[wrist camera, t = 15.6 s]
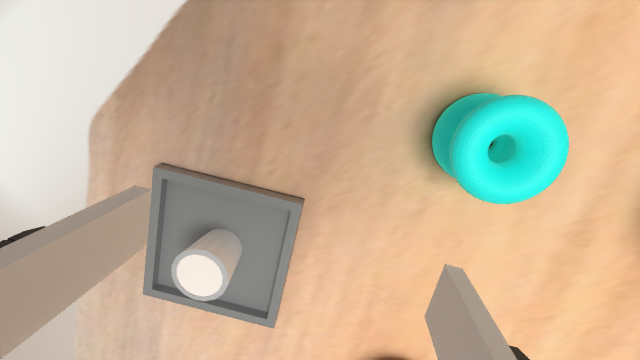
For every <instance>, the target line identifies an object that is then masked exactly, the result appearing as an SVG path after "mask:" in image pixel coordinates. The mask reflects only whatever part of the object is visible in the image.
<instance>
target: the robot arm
mask: <svg viewBox="0 0 640 360" xmlns="http://www.w3.org/2000/svg"><path fill="white" fill-rule="evenodd" d="M151 193H152V190H151V189H147V188H143V187H139V186H133V187H131V188H129V189H127V190H124V191H122V192H120V193H118V194H116V195H114V196H112V197H109V198H107V199H105V200H103V201H101V202H99V203H97V204H94V205H92V206H90V207H88V208H86V209H84V210H82V211H79V212H77V213H75V214H73V215H71V216H69V217H67V218H65V219H62V220H60V221H58V222H56V223H54V224H51V225H49V226H47V227H45V226H43V227H39V228H35V229H31V230H27V231H23V232H21V233H19V234H17V235H14V236H12V237H10V238H8V239H7V240H3V241H1V242H0V359H2V358H3V357H4V356H5V355H7V354H8V353H9V352H11V351H12V350H13V349H15V348H16V347H17V346H18V345H20V344H21V343H22V342H23V341H25V340H26V339H27V338H29V337H30V336H31V335H32V334H34V333H35V332H36V331H38V330H39V329H40V328H41V327H43V326H44V325H45V324H46V323H48V322H49V321H50V320H51V319H53V318H54V317H55V316H57V315H58V314H59V313H61V312H62V311H63V310H64V309H66V308H67V307H68V306H69V305H71V304H72V303H73V302H75V301H76V300H77V299H78V298H80V297H81V296H82V295H84V294H85V293H86V292H87V291H89V290H90V289H91V288H93V287H94V286H95V285H96V284H98V283H99V282H100V281H101V280H103V279H104V278H105V277H107V276H108V275H109V274H110V273H112V272H113V271H114V270H116V269H117V268H118V267H119V266H121V265H122V264H123V263H124V262H126V261H127V260H128V259H130V258H131V257H132V256H133V255H135V254H136V253H137V252H139V251H140V250H141V249H142V248H144V247H145V246H146V245H147V241H148V229H149V217H150V205H151ZM425 319H426V323H427V326H428V329H429V332H430V335H431V338H432V342H433V345H434V348H435V351H436V354H437V358H438V360H530V359H529V358H528V357H527V356H526V355H525V354H524V353H522V352H521V351H520V350H519V349H518V348H517V347H513V346H509V345H508V344H507V342H506V340H505V339H504V337H503V335H502V334H501V332H500V330H499V329H498V327H497V325H496V324H495V322H494V320H493V319H492V317H491V315H490V314H489V312H488V310H487V309H486V307H485V305H484V304H483V302H482V300H481V299H480V297H479V295H478V294H477V292H476V290H475V289H474V287H473V285H472V284H471V282H470V280H469V279H468V277H467V275H466V274H465V272H464V270H463V269H462V268H458V267H454V266H450V265H446V264H445V266H444V268H443V271H442V273H441V276H440V278H439V281H438V283H437V286H436V288H435V291H434V294H433V296H432V299H431V301H430V304H429V306H428V309H427V311H426V314H425Z"/></svg>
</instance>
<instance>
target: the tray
mask: <svg viewBox="0 0 640 360" xmlns="http://www.w3.org/2000/svg"><path fill="white" fill-rule="evenodd" d="M304 200H305V199H303V198H299V197H295V196H291V195H287V194H283V193H279V192H275V191H271V190H267V189H263V188H259V187H255V186H251V185H247V184H243V183H239V182H235V181H231V180H227V179H223V178H219V177H215V176H211V175H207V174H203V173H199V172H195V171H192V170H188V169H184V168H180V167H176V166H172V165H168V164H164V163H162V164H159V165H157V166H154V168H153V180H152V193H151V205H150V217H149V229H148V241H147V252H146V264H145V276H144V288H143V294H144V295H148V296H152V297H155V298H159V299H163V300H167V301H171V302H174V303H178V304H182V305H186V306H190V307H194V308H197V309H201V310H205V311H209V312H213V313H216V314H220V315H224V316H228V317H232V318H236V319H239V320H243V321H247V322H251V323H255V324H258V325H262V326H266V327H270V328H274V326H275V323H276V320H277V316H278V312H279V307H280V303H281V299H282V294H283V290H284V286H285V282H286V277H287V273H288V269H289V264H290V260H291V256H292V251H293V247H294V243H295V238H296V234H297V230H298V226H299V221H300V217H301V213H302V208H303V204H304ZM214 229H226V230H228V231H230V232H232V233H234V234H235V235H236V236H237V238H238V239H239V240H240V242H241V245H242V255H241V257H240V259H239V262H238V264H237V266H236V268H235V270H234V273H233V275H232V277H231V279H230V282H229V284H228V286H227V288H226V289H225V291H224V293H223V294H222V295H221V296H219V297H218V298H216V299H214V300H209V301H200V300H194V299H192V298H190V297H188V296H186V295H184V294H183V293H182V292H181V291H180V290H179V289H178V288H177V287H176V285H175V283H174V281H173V278H172V268H171V266H172V264H173V262H174V260H175V258H176V257H177V256H178V255H179V254H181V253H182V252H183V251H185V250H186V249H187V248H188V247H190V246H191V245H192V244H194V243H195V242H196V241H198V240H199V239H200V238H202V237H203V236H204V235H206V234H207V233H208V232H210V231H211V230H214Z"/></svg>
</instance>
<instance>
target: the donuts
mask: <svg viewBox="0 0 640 360" xmlns="http://www.w3.org/2000/svg"><path fill="white" fill-rule="evenodd" d="M493 140H494V142H493V144H492V146H491V147H490V148H489V146H490V144H491V142H492V141H493ZM432 148H433V153H434V156H435V159H436V161H437V162H438V164H439V165H440V167H441V168H442V169H443V170H444V171H445V172H446V173H447V174H449V175H450V176H452V177H453V178H456V180H457V182H458V183H459V184H460V186H461V187H462V188H463V189H464V190H465V191H467V192H468V193H469V194H471V195H472V196H474V197H475V198H478V199H480V200H482V201H486V202H490V203H495V204H511V203H517V202H521V201H524V200H527V199H529V198H532V197H534V196H535V195H537V194H539V193H541V192H542V191H543V190H545V189H546V188H547V187H548V186H549V185H551V184H552V183H553V181H554V180H555V179H556V178H557V177H558V175H559V174H560V172H561V170H562V169H563V167H564V164H565V162H566V159H567V155H568V149H569V138H568V133H567V129H566V126H565V124H564V122H563V120H562V118H561V117H560V115H559V114H558V113H557V112H556V111H555V110H554V109H553V108H552V107H551V106H549V105H548V104H546V103H545V102H543V101H541V100H539V99H536V98H533V97H529V96H523V95H507V96H500V95H497V94H491V93H477V94H472V95H469V96H466V97H463V98H461V99H459V100H457V101H456V102H454V103H453V104H452V105H450V106H449V107H448V108H447V109H446V110H445V111H444V112H443V113H442V115H441V116H440V118H439V119H438V121H437V123H436V125H435V128H434V131H433V136H432ZM488 148H489V149H488Z"/></svg>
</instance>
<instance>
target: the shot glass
mask: <svg viewBox="0 0 640 360" xmlns="http://www.w3.org/2000/svg"><path fill="white" fill-rule="evenodd" d="M241 255H242V245H241V242H240V240H239V239H238V238H237V236H236V235H235V234H234V233H232V232H230V231H228V230H226V229H214V230H211V231H210V232H208V233H207V234H206V235H204V236H203V237H202V238H200V239H199V240H198V241H196V242H195V243H194V244H192V245H191V246H190V247H188V248H187V249H186V250H185V251H183V252H182V253H181V254H179V255H178V256H177V257H176V258H175V260H174V262H173V264H172V266H171V268H172V278H173V281H174V283H175V285H176V287H177V288H178V289H179V290H180V291H181V292H182V293H183V294H184V295H186V296H188V297H190V298H192V299H194V300H200V301H209V300H214V299H216V298H218V297H219V296H221V295H222V294H223V293H224V291H225V289H226V288H227V286H228V284H229V282H230V279H231V277H232V275H233V273H234V270H235V268H236V266H237V264H238V262H239V259H240V257H241Z"/></svg>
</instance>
